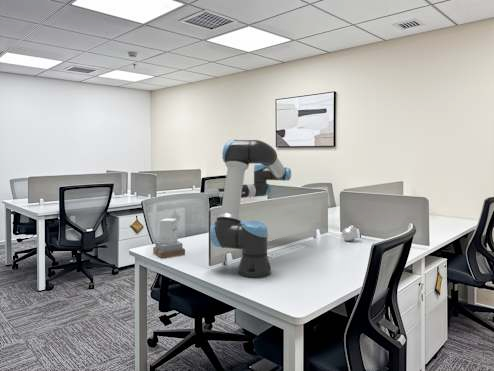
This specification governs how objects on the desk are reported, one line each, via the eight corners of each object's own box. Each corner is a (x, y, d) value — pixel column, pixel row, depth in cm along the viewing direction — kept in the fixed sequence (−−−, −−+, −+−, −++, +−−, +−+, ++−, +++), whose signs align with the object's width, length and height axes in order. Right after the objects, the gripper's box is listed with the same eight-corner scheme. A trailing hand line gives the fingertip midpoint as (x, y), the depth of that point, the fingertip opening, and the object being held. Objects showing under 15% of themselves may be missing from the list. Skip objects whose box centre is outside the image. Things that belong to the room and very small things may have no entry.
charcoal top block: (182, 249, 203) (182, 243, 203) (162, 252, 197) (162, 246, 197) (174, 244, 212) (174, 239, 212) (155, 247, 206) (155, 242, 206)
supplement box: (172, 244, 201) (172, 220, 199) (159, 243, 202) (159, 220, 201) (177, 241, 208) (177, 218, 207) (164, 240, 209) (164, 217, 208)
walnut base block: (185, 256, 203) (184, 249, 202) (161, 260, 196) (161, 252, 195) (175, 251, 214) (175, 244, 213) (153, 254, 207) (153, 247, 206)
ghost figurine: (353, 243, 227) (353, 227, 226) (339, 241, 234) (339, 225, 233) (360, 241, 234) (360, 225, 233) (346, 238, 240) (346, 223, 239)
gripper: (257, 199, 212) (224, 202, 201) (235, 195, 233) (204, 197, 222) (257, 186, 211) (224, 188, 200) (235, 182, 232) (204, 184, 221)
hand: (213, 193), depth 211 cm, fingers open, 13 cm apart
